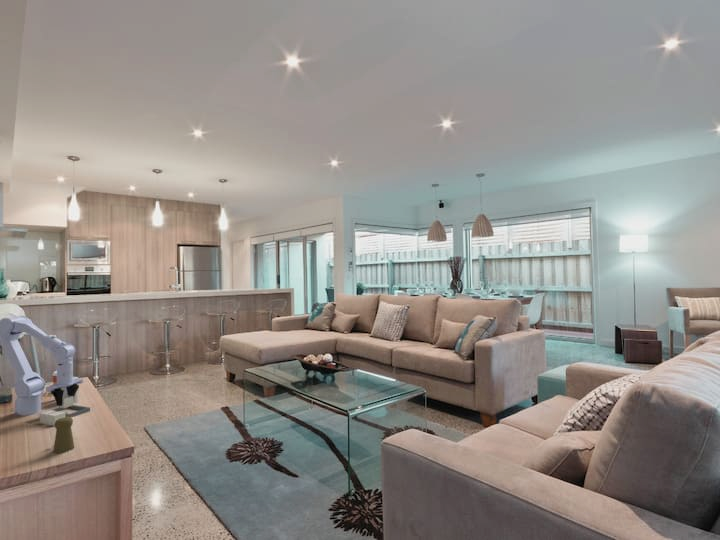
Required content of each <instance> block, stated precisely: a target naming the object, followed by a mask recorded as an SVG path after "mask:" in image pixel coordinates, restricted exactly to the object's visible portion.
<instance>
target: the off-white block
mask: <svg viewBox="0 0 720 540" xmlns="http://www.w3.org/2000/svg"><path fill="white" fill-rule="evenodd" d="M65 413H66V412H65V411H64V412H63V411H58V412H55V413H52V414H49V415H48V425H53V426H54V427H55V422H56V420H58V419H60V418H64V417H65Z"/></svg>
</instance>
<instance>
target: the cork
mask: <svg viewBox="0 0 720 540" xmlns="http://www.w3.org/2000/svg"><path fill="white" fill-rule="evenodd" d="M73 420H74V419H73V417H64V418H60V419H58V420H56V422H55V426H54V428H55V429H56V432H55V437H54V443H53V444H54V445H53V450H52V451H53V454H62V453H63V454H64V453H66V451H67V452H69V450H70V451H72V450H74V448H75V443H74V436H73V431H72V425H73V423H74V421H73Z"/></svg>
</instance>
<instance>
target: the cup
mask: <svg viewBox="0 0 720 540" xmlns="http://www.w3.org/2000/svg"><path fill="white" fill-rule="evenodd" d="M75 379H79V377H78V376H73V380H75ZM77 385H79V386H80V383H79V384H77ZM79 388H80V387H79ZM79 388H78V390H77V391H76V393H75V396H74V399H73V404H77V403H78V402H80V401H79V400H80V399H79V397H80V396H79ZM61 389H62V390H64V393H63V396H66V395H68V394H67V389H66V387H65V388H61ZM78 404H79V403H78Z"/></svg>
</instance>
